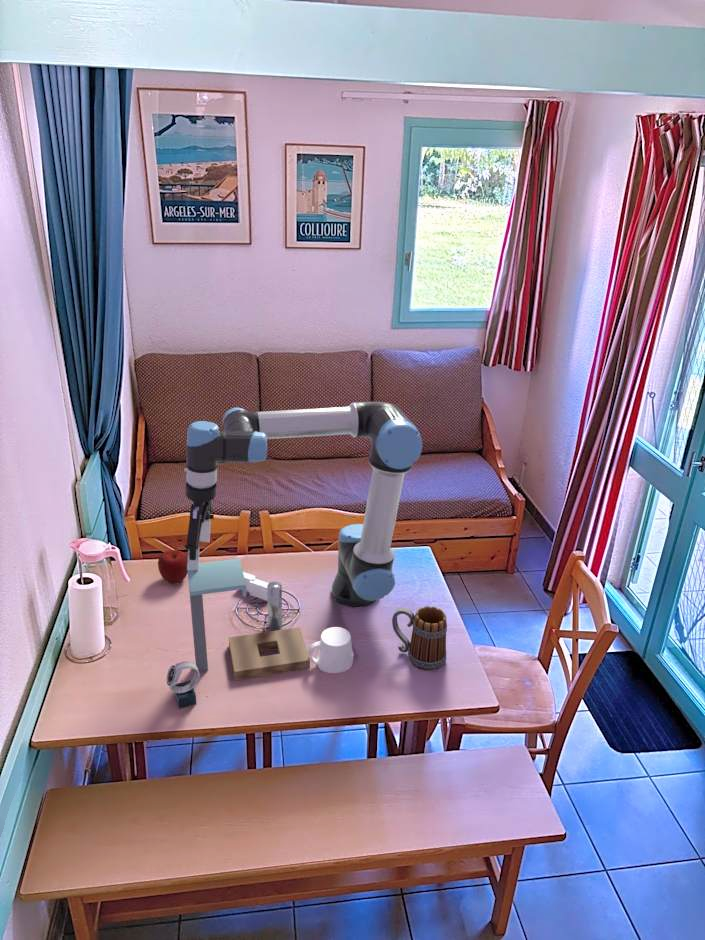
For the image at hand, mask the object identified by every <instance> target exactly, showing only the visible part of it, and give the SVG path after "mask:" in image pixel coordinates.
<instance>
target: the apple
mask: <svg viewBox="0 0 705 940" xmlns="http://www.w3.org/2000/svg"><path fill="white" fill-rule="evenodd" d="M157 561H158V562H157V566H158V571H159V574H160V576H161V577H162V579H163V580H164V581H165V582H167V583H168V584H171V585H177V584H179V583H182V582H183V581H184V580H185V579H186V577H187V576H188V570H187V564H188V554H186V552H184V551H181V550H179V549H171V550H166V551H165V552H163V553H162V554H160V556H159V558H158V560H157Z"/></svg>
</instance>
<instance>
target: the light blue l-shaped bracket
mask: <svg viewBox="0 0 705 940" xmlns="http://www.w3.org/2000/svg"><path fill="white" fill-rule="evenodd" d="M187 567H188V564H187ZM187 570H188V573H187V578H188V588H189V590H188V591H189V600H190V610H191V611H190V613H191V623H192V634H193V635H192V637H193V648H194V658H195V660H194V661H195V665H196V666H197V668H198V671H199V673H200V672H205V671H206V672H207V671H209V665H208V651H207V639H206V638H207V637H206V636H207V635H206V625H205V614H204V600H203V599H204V597H203V595H208V594H216V593H217V594H218V593H224V592H230V591H232V592H233V591H239V590H241V593H242V597H243V598H246V597H247V591H246V583H245V579H244V574H243V572H244V571H243V565H242V562H241V558H231V559H223V560H212V561H206V562H199V569H198V570H192V569H187Z"/></svg>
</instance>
